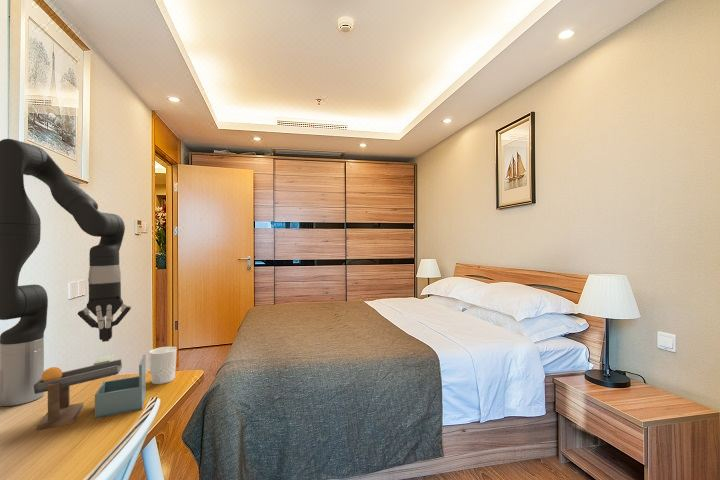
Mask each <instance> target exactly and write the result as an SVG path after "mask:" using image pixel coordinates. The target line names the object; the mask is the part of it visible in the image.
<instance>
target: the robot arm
mask: <svg viewBox="0 0 720 480" xmlns="http://www.w3.org/2000/svg"><path fill="white" fill-rule="evenodd" d="M24 176H32V177H34V178H35V179H38V180H39V181H40V182H43V184H45V185H47V186H48V188H49V190H50V193H51V196H52V198H53V200H54V201H55V202H56V203H57V204H58V205H59V206H60V207H61V208H63V209H64V211H66V212H67V213H69V214H70V215H71V216H72V217H73V219H74V221H75V222H76V224H77V225H78V226H79V228H80V229H81V230H82V231H83V232H84V233H86V234H87V235H89V236H92V237H99V238H100V239H99V242H98V244H97V245H94V246H92V247H90V248H89V253H88V254H89V258H88V261H89V264H88V265H89V266H88V267H89V269H88V270H89V271H88V278H87V282H88V301H87V303H86V307H84V308H83V309H81V310H80V311H78V312H77V316H79V317H80V318H81V319H82V320H83V321H84V322H85V323H87V325H88V326H90V328H92V329H94V328H96V329H98V333H99V335H98V336H99V338H98V339H99V340H100V341H102V343H105V342H109V341H110V340H111V339H112V338H113V327H114V326H115V327H116V326H117V325H119V324H120V323H121V322H122V320H123V319H124V318H125V317H126V315H127V314H128V313H129V312H130V310H131V309H132V306H130V305H127V304H125V303H124V301H123V299H122V283H121V282H122V281H121V280H122V278H121V277H122V276H121V274H122V273H121V269H120V268H121V267H120V250H121V246H122V243H123V240H124V236H125V232H126V231H125V230H126V228H125V227H126V226H125V222H124V219H123V218H122V217H121V216H120V215H118V214H115V213H108V212H103V211H102V212H101V211H99V210H98V209H99V205H98V202H97V201H96V200H95V199H94V198H93V197H92V196H90V195H89V194H88V193H86V192H85V191H84V190H83V189H82V188H80V187H79V186H78V185H77V184H76V183H75V182H74V181H72V180H71V179H70V177H69V176H68V175H67V174H66V173H65V171H63V170H62V169H61V167H60V166H59V165H58V164H57V163H56V161H55V160H54V159H53V158H52V157H51V155H49V154H48V152H47V151H46V150H44V149H43V148H41V147H40V146H37V145H35V144H30V143H27V142H23V141H20V140H16V139H13V138H3V139H1V140H0V320H1V321H7V320H15V319H19V320H18V322H17V323H16V324H15V325H14V326H11V328H8V329H7V330H5V331H2V332H1V334H0V407H10V406H13V407H14V406H18V405H22V404H27V403H30V402H33V401H36V400H38V399H40V398H42V397H43V396H44V394H45V392H42V393H38V394H35V393H34V386H33V385H35V384H36V383H37V382H38V381H39V380H40V379H41V377H42V374H43V372H44V371H45V356H44V355H45V348H44V347H45V340H44V339H45V331H46V328H47V322H48V308H49V305H48V304H49V300H48V294H47V290H46V289H45V288H44V286H42V285H39V284H25V285H19V279H20V278H19V277H20V274H21V271H22V268H23V266H24V265H25V263H26V262H27V261H28V259H29V258H30V257H31V256H32V254H33V253H34V252H35V250H36V249H37V248H38V246H39V244H40V241H41V232H42V231H41V230H42V229H41V228H42V227H41V226H42V225H41V224H42V223H41V218H40V215H39V213H38V211H37V209H36V208H35V206H34V204H33V202H32V201H31V199H30V198H29V196H28V194H27V192H26V189H25V182H24V181H25V180H24ZM119 309H120V312H121V313H120V314H119V316H117V317H116V319H115V320H114V315H116V313H117V312H118V311H119ZM91 313H92V315H93V316H95V317H96V319H97V321H96V320H95V319H94V318H93V317H92V316H91V315H90V314H91Z"/></svg>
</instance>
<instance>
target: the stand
mask: <svg viewBox="0 0 720 480" xmlns="http://www.w3.org/2000/svg"><path fill="white" fill-rule="evenodd" d="M70 387H71V386H67V387H63V388H60V383H54V384H49V385H48V391H47V412H46V414H44V416H42V418H41V419H40V421H38V423H37V424H36V431H40V430H44V429H45V430H46V429H51V428H56V427H60V426H65V425H70V424H74V422H76V420H77V418H78V417H79V415H80V413H81V412H82V410H83V409H84V407H85V402H78V403H72V404H71V403H70V400H71V399H70V397H71V395H70V390H71V389H70Z"/></svg>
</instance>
